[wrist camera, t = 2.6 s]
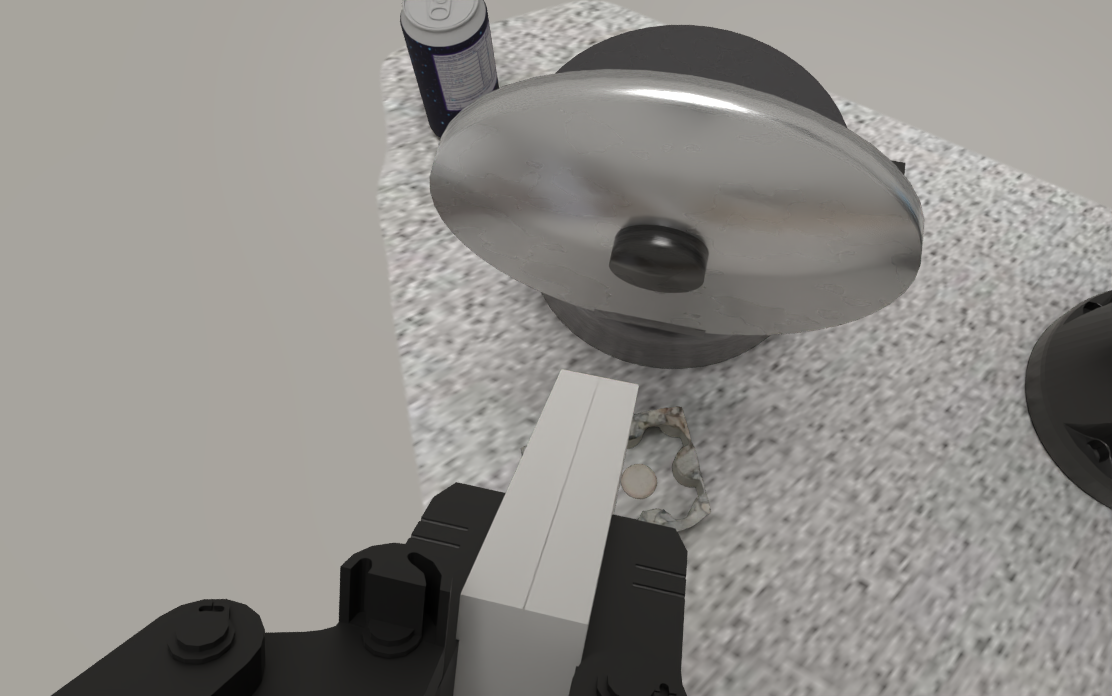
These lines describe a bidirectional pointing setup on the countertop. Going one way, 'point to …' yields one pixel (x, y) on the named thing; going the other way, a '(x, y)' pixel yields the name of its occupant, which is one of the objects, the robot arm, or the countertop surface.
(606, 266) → the lid
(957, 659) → the countertop surface
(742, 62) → the cooker pot
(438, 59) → the beverage can
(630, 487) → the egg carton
